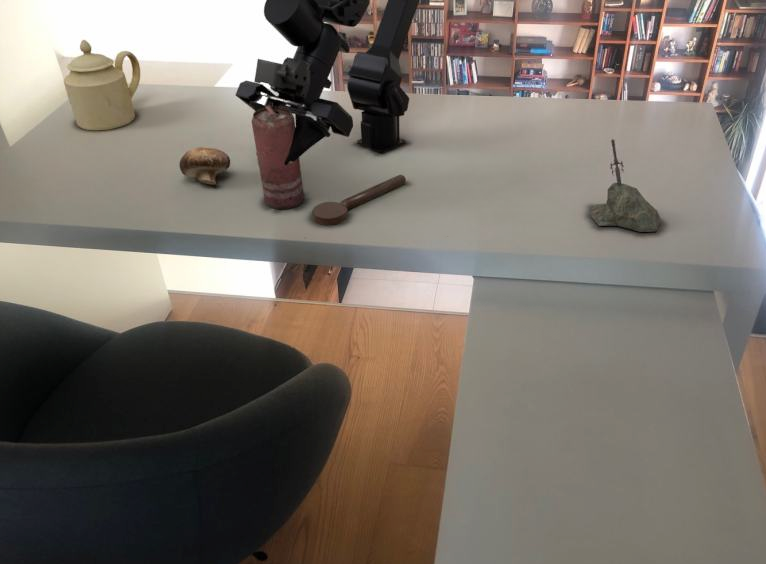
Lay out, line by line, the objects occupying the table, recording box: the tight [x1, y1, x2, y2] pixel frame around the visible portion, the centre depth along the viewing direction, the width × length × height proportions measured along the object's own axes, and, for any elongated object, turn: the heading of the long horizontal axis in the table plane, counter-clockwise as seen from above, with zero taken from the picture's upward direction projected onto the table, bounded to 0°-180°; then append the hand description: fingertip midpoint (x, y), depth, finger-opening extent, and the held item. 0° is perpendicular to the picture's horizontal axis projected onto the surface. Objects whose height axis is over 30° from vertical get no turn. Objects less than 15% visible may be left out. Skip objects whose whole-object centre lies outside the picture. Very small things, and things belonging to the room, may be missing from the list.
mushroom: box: [178, 146, 231, 186], centre depth 113 cm, size 8×8×6 cm
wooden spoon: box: [311, 174, 407, 226], centre depth 107 cm, size 18×5×2 cm, turn 135°
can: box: [251, 106, 305, 210], centre depth 104 cm, size 6×6×14 cm
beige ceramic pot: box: [63, 39, 141, 131], centre depth 133 cm, size 15×11×15 cm
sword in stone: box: [590, 138, 662, 233], centre depth 99 cm, size 10×8×12 cm
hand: (272, 161), depth 103 cm, fingers closed on can, 5 cm apart
